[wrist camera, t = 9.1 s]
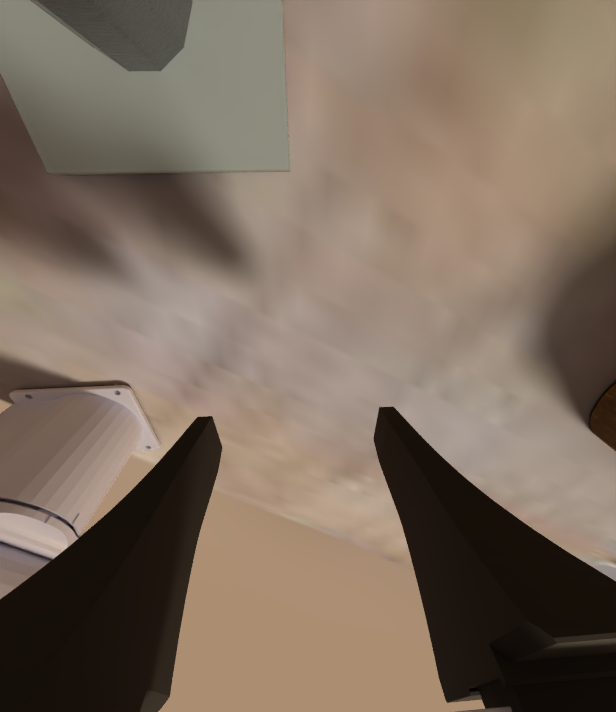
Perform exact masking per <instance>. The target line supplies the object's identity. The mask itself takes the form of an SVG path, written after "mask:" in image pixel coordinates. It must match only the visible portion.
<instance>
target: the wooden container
mask: <svg viewBox="0 0 616 712" xmlns="http://www.w3.org/2000/svg"><path fill="white" fill-rule="evenodd" d="M590 425H591V430H592V431H593V433H594V434H595V435H596V436H597V437H598V438H600V439H601V440H602V441H603V442H605V443H606V444H607V445H608V446H610V447H611V448H612V449H614V450H615V451H616V383H615V384H614V385H613V386H612V387H611V388H610V389H609V390H608V391H607V392H606V393H605V394H604V395H603V397H602V398H601V399H600V401H599V402H598V404H597V405H596V407H595V409H594V410H593V413H592V415H591V420H590Z"/></svg>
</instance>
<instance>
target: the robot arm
mask: <svg viewBox="0 0 616 712" xmlns="http://www.w3.org/2000/svg"><path fill="white" fill-rule="evenodd" d="M9 397H10V398H11V399H12V401H13V402H14V404H13V405H12V406H10V407H9V408H8V409H6V410H5V411H3V412H2V413H1V414H0V712H158V711H159V710H160V709H161V708H162V706H163V705H164V704H165V702H166V701H167V700H168V698H169V697H170V691H171V684H172V677H173V671H174V664H175V658H176V651H177V644H178V638H179V632H180V627H181V621H182V615H183V610H184V604H185V598H186V593H187V588H188V583H189V578H190V573H191V568H192V563H193V559H194V553H195V549H196V545H197V540H198V537H199V532H200V529H201V525H202V522H203V519H204V516H205V512H206V509H207V506H208V503H209V499H210V496H211V493H212V490H213V486H214V483H215V480H216V476H217V473H218V468H219V463H220V458H221V452H222V445H221V442H220V439H219V436H218V433H217V430H216V427H215V423H214V420H213V417H212V416H208V417H197V418H196V419H195V421H194V422H193V423H192V424H191V425H190V426H189V428H188V429H187V430H186V431H185V432H184V434H183V435H182V436H181V437H180V438H179V439H178V441H177V442H176V443H175V444H174V445H173V446H172V448H171V449H170V450H169V451H168V452H167V453H166V454H165V455H164V457H163V458H162V459H161V460H160V461H159V462H158V463H157V464H156V465H155V467H154V468H153V469H152V470H151V471H150V472H149V473H148V474H147V475H146V476H145V477H144V478H143V479H142V480H141V481H140V482H139V483H138V484H137V485H136V487H134V489H132V491H130V493H128V494H127V495H126V496H125V497H124V498H123V499H122V500H121V501H120V502H119V503H118V504H117V505H116V506H115V507H114V508H113V509H112V510H111V511H110V512H108V513H107V514H106V515H105V516H104V517H103V518H102V519H101V520H99V521H98V522H97V523H96V524H95V525H94V526H92V527H91V528H90V529H89V530H88V531H87V532H85V533H84V534H83V535H82V536H81V537H80V535H81V534H82V532H83V531H84V529H85V528H86V526H87V524H88V523H89V521H90V520H91V518H92V516H93V515H94V513H95V512H96V510H97V508H98V507H99V505H100V504H101V502H102V500H103V499H104V497H105V495H106V494H107V492H108V491H109V489H110V488H111V486H112V485H113V483H114V481H115V480H116V478H117V477H118V475H119V473H120V472H121V470H122V469H123V467H124V465H125V464H126V462H127V461H128V459H129V457H130V456H131V454H132V453H133V451H147V450H157V449H159V447H160V443H159V441H158V439H157V437H156V435H155V433H154V431H153V429H152V427H151V425H150V423H149V422H148V420H147V418H146V416H145V414H144V412H143V410H142V408H141V406H140V404H139V402H138V400H137V399H136V397H135V395H134V393H133V391H132V389H131V388H130V387H129V386H126V385H116V386H94V387H71V388H49V389H26V390H14V391H12V392H11V393H10V394H9ZM374 443H375V447H376V451H377V455H378V459H379V463H380V465H381V468H382V471H383V474H384V476H385V479H386V482H387V485H388V487H389V490H390V493H391V495H392V498H393V501H394V503H395V506H396V509H397V512H398V514H399V517H400V520H401V523H402V526H403V530H404V533H405V537H406V541H407V544H408V548H409V552H410V555H411V559H412V563H413V567H414V571H415V575H416V578H417V582H418V586H419V591H420V595H421V599H422V603H423V607H424V611H425V615H426V620H427V624H428V629H429V633H430V638H431V642H432V647H433V651H434V656H435V661H436V666H437V670H438V675H439V679H440V683H441V686H442V689H443V693H444V696H445V699H446V701H447V702H448V703H449V702H459V701H470V700H480V699H482V701H483V703H484V706H485V709H478V710H468V711H457V712H616V581H614V580H613V579H611V578H609V577H608V576H606V575H604V574H602V573H601V572H599V571H598V570H596V569H595V568H593V567H591V566H590V565H588V564H586V563H585V562H583V561H581V560H580V559H578V558H577V557H575V556H573V555H572V554H570V553H568V552H567V551H565V550H564V549H562V548H561V547H559V546H558V545H556V544H554V543H553V542H551V541H550V540H548V539H547V538H545V537H544V536H542V535H541V534H539V533H538V532H536V531H535V530H533V529H532V528H531V527H529V526H528V525H526V524H525V523H523V522H522V521H521V520H519V519H518V518H516V517H515V516H514V515H512V514H511V513H510V512H508V511H507V510H505V509H504V508H503V507H501V506H500V505H499V504H497V503H496V502H494V501H493V500H492V499H491V498H489V497H488V496H487V495H485V494H484V493H483V492H482V491H480V490H479V489H478V488H477V487H476V486H474V485H473V484H472V483H471V482H469V481H468V480H467V479H466V478H465V477H463V476H462V475H461V474H460V473H459V472H458V471H457V470H456V469H454V468H453V467H452V466H451V465H450V464H449V463H448V462H447V461H446V460H445V459H443V458H442V457H441V456H440V455H439V454H438V453H437V452H436V451H435V450H434V449H433V448H432V447H431V446H430V445H429V444H428V443H427V442H426V441H425V440H424V439H423V438H422V437H421V436H420V435H419V434H418V433H417V432H416V431H415V429H414V428H413V427H412V426H411V425H410V424H409V423H408V422H407V421H406V420H405V419H404V418H403V416H402V415H401V414H400V413H399V412H398V411H397V410H396V409H395V408H394V407H379V412H378V418H377V423H376V428H375V434H374Z"/></svg>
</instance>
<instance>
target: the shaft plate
mask: <svg viewBox="0 0 616 712" xmlns="http://www.w3.org/2000/svg"><path fill="white" fill-rule="evenodd" d="M192 1H193V4H192V8H191V13H190V18H189V24H188V29H187V34H186V39H185V44H184V48H183V49H182V50H181V51H180V52H179V53H178V54H177V55H176V56H175V57H174V58H173V59H172V60H171V61H170V62H169V63H168V64H167V65H166V66H165V67H164V69H163V70H162V71H161V72H160V71H130V72H129V71H127V70H126V69H125V68H123V67H122V66H120V65H119V64H117V63H116V62H114V61H113V60H111V59H110V58H108V57H107V56H105V55H104V54H102V53H101V52H99V51H98V50H96V49H95V48H93V47H92V46H90V45H89V44H88V43H86V42H85V41H84V40H82V39H81V38H80V37H78V36H77V35H76V34H74V33H73V32H72V31H70V30H69V29H68V28H66V27H65V26H64V25H62V24H61V23H60V22H58V21H57V20H56V19H54V18H53V17H52V16H50V15H49V14H48V13H46V12H45V11H44V10H42V9H41V8H40V7H38V6H37V5H36V4H34V3H33V2H32V1H30V0H0V74H1V76H2V78H3V80H4V82H5V84H6V86H7V89H8V91H9V93H10V95H11V97H12V99H13V101H14V103H15V106H16V108H17V110H18V112H19V114H20V116H21V118H22V120H23V122H24V125H25V127H26V129H27V131H28V133H29V135H30V137H31V139H32V142H33V144H34V146H35V148H36V150H37V152H38V154H39V156H40V158H41V161H42V163H43V165H44V167H45V169H46V171H47V173H50V174H60V175H85V174H153V173H221V172H290V166H289V143H288V121H287V98H286V76H285V53H284V31H283V9H282V0H192Z"/></svg>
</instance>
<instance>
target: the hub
mask: <svg viewBox="0 0 616 712" xmlns="http://www.w3.org/2000/svg"><path fill="white" fill-rule="evenodd" d="M30 1H32V2H33V3H34V4H36V5H37V6H38V7H40V8H41V9H42V10H44V11H45V12H46V13H48V14H49V15H50V16H52V17H53V18H54V19H56V20H57V21H58V22H60V23H61V24H62V25H64V26H65V27H66V28H68V29H69V30H70V31H72V32H73V33H74V34H76V35H77V36H78V37H80V38H81V39H82V40H84V41H85V42H86V43H88V44H89V45H90V46H92V47H93V48H95V49H96V50H98V51H99V52H101V53H102V54H104V55H105V56H107V57H108V58H110V59H111V60H113V61H114V62H116V63H117V64H119V65H120V66H122V67H123V68H125V69H126V70H127V71H129V72H130V71H160V72H161V71H162V70H163V69H164V67H165V66H166V65H167V64H168V63H169V62H170V61H171V60H172V59H173V58H174V57H175V56H176V55H177V54H178V53H179V52H180V51H181V50H182V49H183V48H184V44H185V39H186V34H187V29H188V24H189V18H190V13H191V8H192V4H193V1H192V0H30Z"/></svg>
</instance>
